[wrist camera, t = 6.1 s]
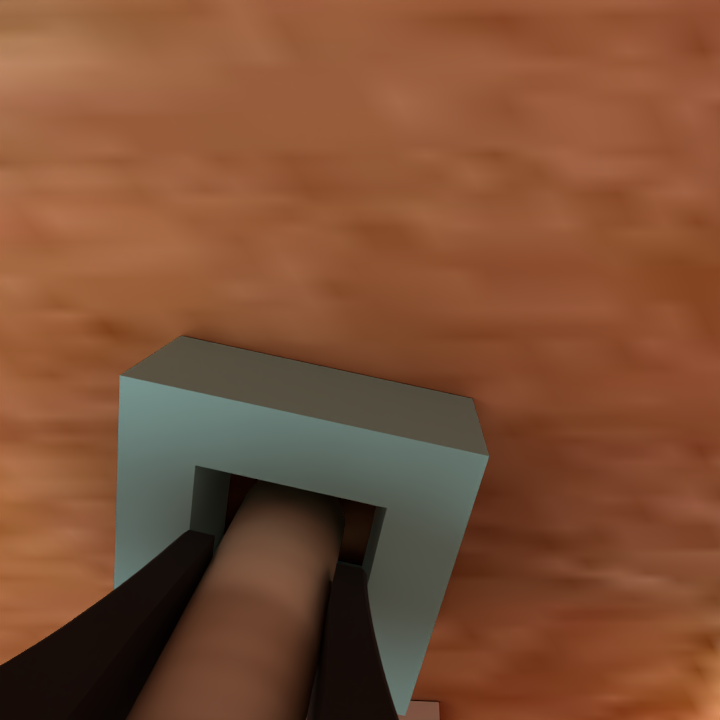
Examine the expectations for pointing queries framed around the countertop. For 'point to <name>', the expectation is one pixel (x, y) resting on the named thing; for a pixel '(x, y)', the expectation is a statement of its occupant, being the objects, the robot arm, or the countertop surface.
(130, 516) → the teal square frame block
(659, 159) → the countertop surface
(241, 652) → the maple dowel
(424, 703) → the white peg holder
